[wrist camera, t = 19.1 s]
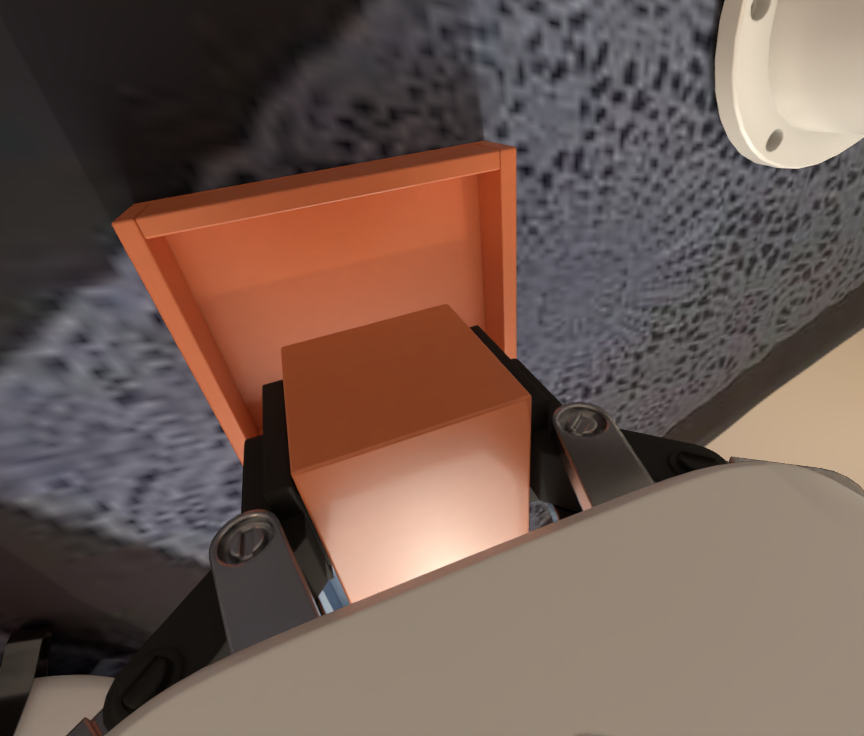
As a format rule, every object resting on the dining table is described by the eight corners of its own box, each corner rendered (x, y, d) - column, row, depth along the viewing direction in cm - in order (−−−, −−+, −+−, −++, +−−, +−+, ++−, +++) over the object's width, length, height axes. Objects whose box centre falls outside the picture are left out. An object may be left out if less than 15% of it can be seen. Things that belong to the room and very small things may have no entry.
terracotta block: (447, 302, 12) (533, 395, 8) (460, 424, 14) (529, 537, 11) (279, 346, 11) (290, 474, 7) (326, 469, 13) (351, 609, 10)
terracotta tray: (485, 139, 16) (517, 146, 14) (493, 363, 22) (517, 390, 20) (132, 203, 13) (109, 222, 11) (248, 435, 19) (246, 474, 17)
